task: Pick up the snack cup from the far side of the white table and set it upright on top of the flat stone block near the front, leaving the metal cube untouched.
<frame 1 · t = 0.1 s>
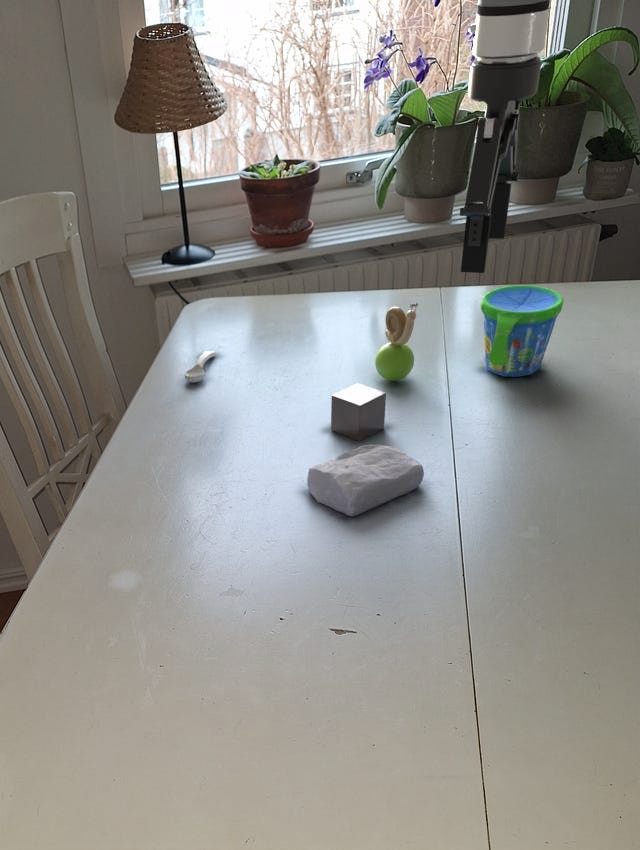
hand: (483, 254, 116), 19 cm above the table, tool pointing down, fingers open, 13 cm apart
snack cup: (511, 369, 133), on the table
metal cube: (357, 429, 123), on the table
spoon: (201, 371, 143), on the table
stone block: (360, 489, 111), on the table
snail figurine: (395, 381, 134), on the table
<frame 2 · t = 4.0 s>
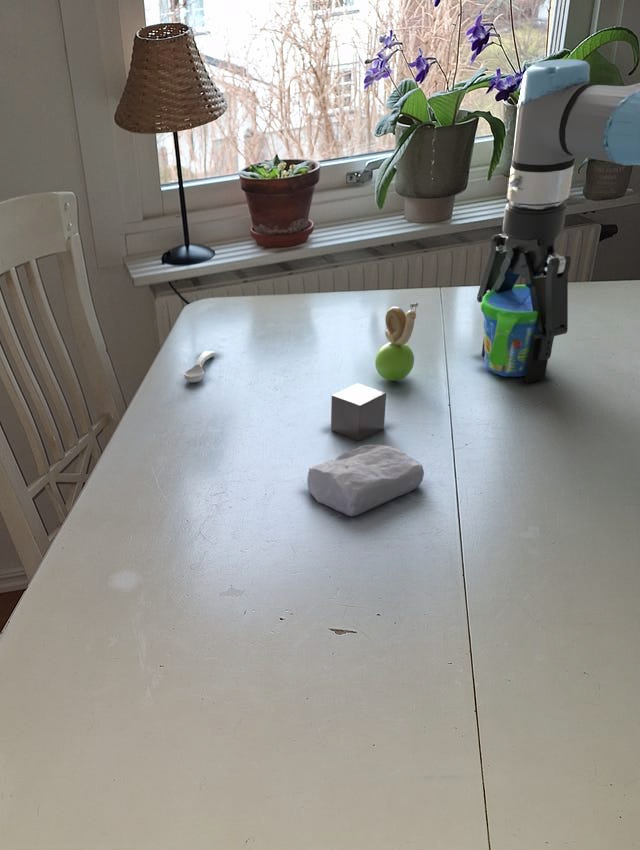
hand: (512, 366, 133), 0 cm above the table, tool pointing down, fingers closed on snack cup, 10 cm apart
snack cup: (511, 369, 133), on the table, touching gripper
everything else where it was.
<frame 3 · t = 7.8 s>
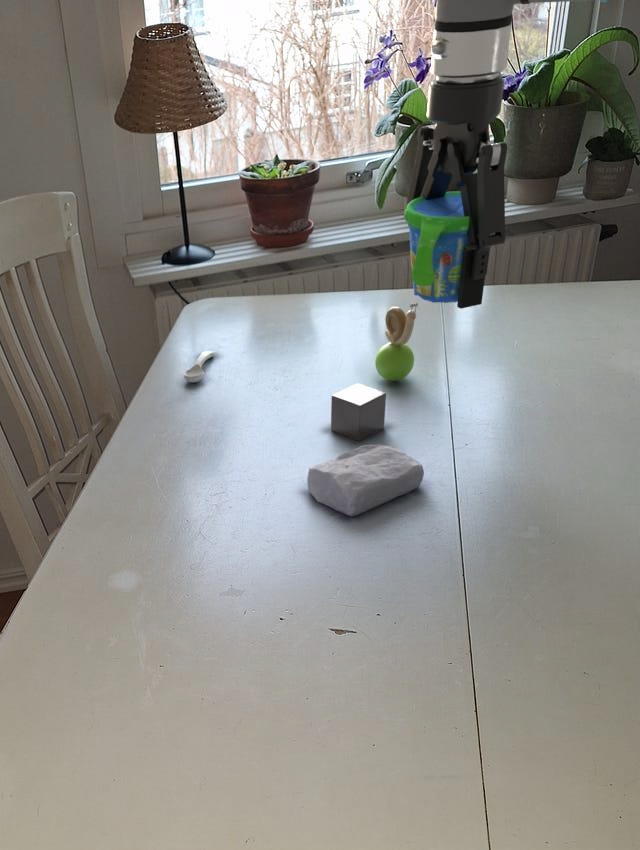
hand: (445, 292, 109), 18 cm above the table, tool pointing down, fingers closed on snack cup, 10 cm apart
snack cup: (445, 296, 110), point 17 cm above the table, touching gripper
everything else where it was.
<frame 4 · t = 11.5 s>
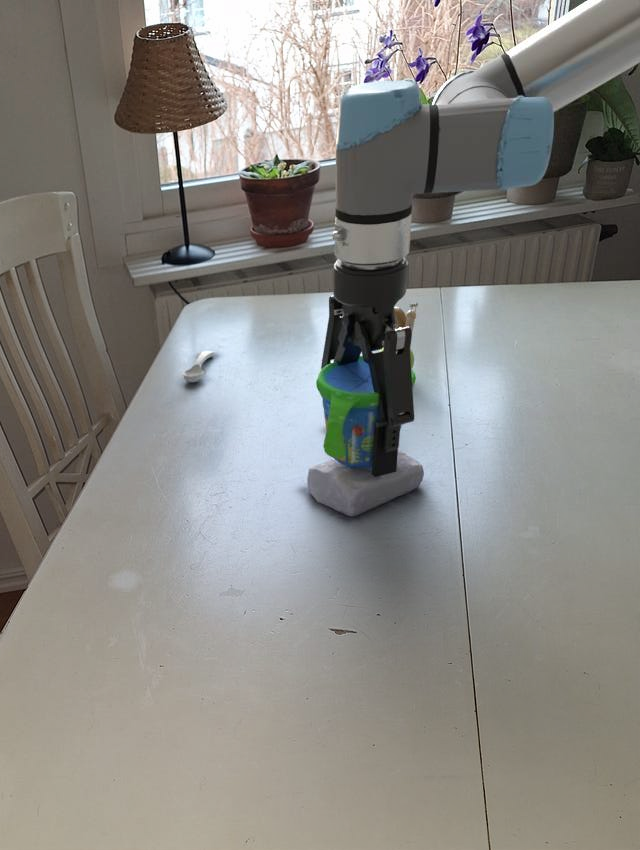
hand: (361, 454, 108), 5 cm above the table, tool pointing down, fingers closed on snack cup, 10 cm apart
snack cup: (361, 457, 108), point 4 cm above the table, touching gripper, stone block
stone block: (360, 489, 111), on the table, touching gripper, snack cup
everything else where it was.
when the fingers open (5 cm above the table, at t = 11.7 s): snack cup stays where it is, resting on stone block.
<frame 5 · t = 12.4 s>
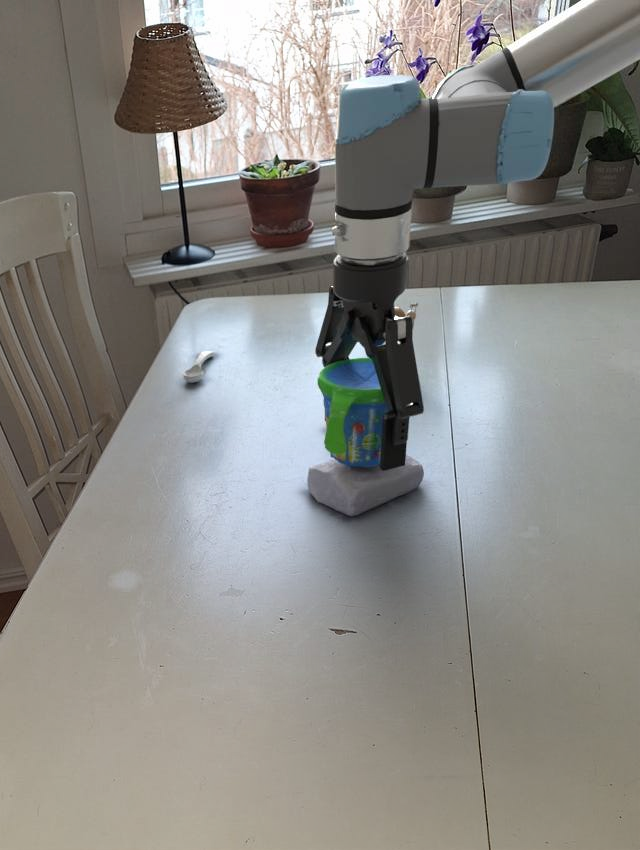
hand: (362, 442, 107), 6 cm above the table, tool pointing down, fingers open, 13 cm apart
snack cup: (361, 458, 108), point 4 cm above the table, touching stone block
stone block: (360, 489, 111), on the table, touching snack cup
everything else where it was.
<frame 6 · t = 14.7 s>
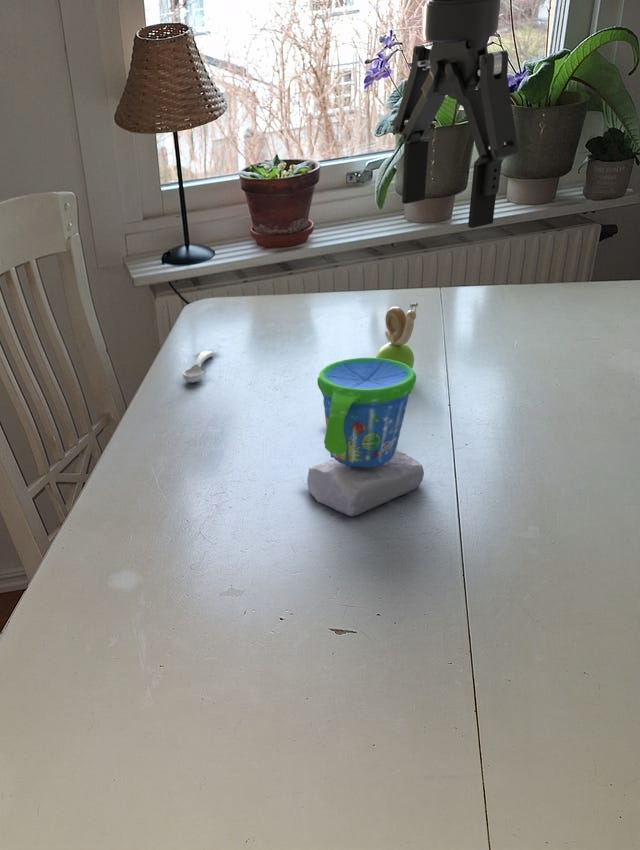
hand: (445, 212, 108), 26 cm above the table, tool pointing down, fingers open, 13 cm apart
nothing on the table moved.
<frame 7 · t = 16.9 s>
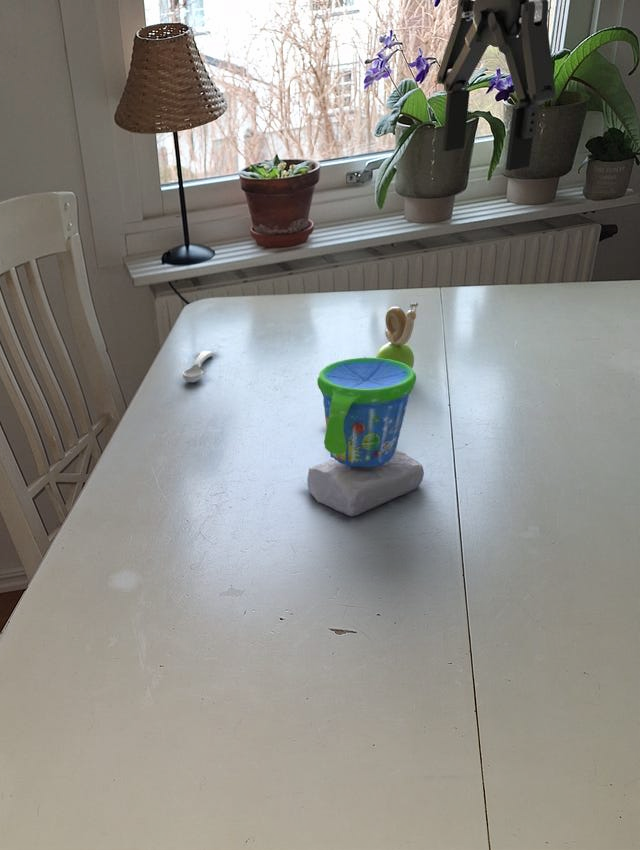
hand: (483, 158, 114), 29 cm above the table, tool pointing down, fingers open, 13 cm apart
nothing on the table moved.
at the end: snack cup inside the target area on the stone block (0.0 cm from its centre), point 4.2 cm above the stone block's base; snack cup tilted 4°; metal cube moved 0.0 cm from its start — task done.
